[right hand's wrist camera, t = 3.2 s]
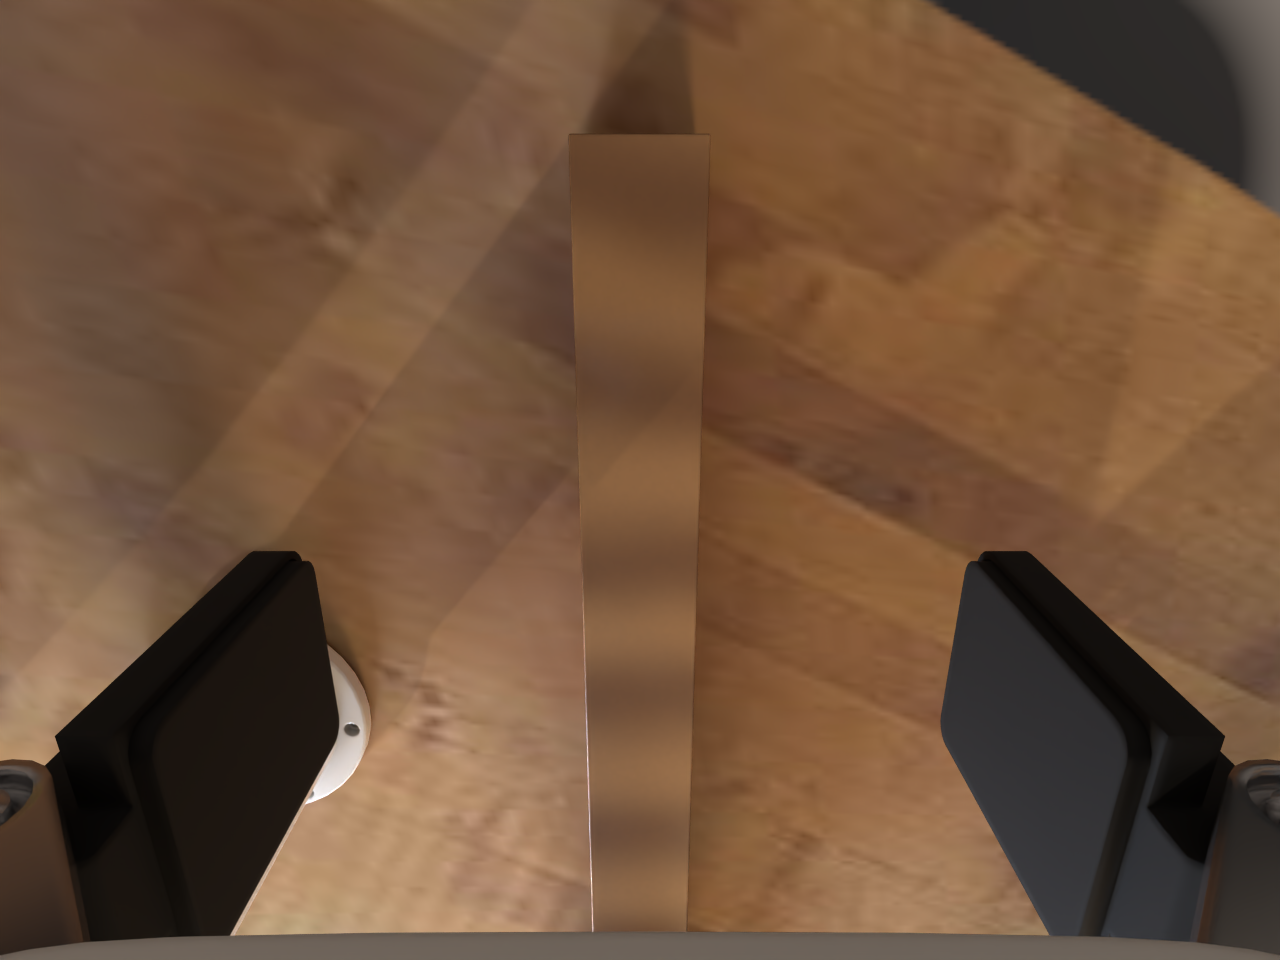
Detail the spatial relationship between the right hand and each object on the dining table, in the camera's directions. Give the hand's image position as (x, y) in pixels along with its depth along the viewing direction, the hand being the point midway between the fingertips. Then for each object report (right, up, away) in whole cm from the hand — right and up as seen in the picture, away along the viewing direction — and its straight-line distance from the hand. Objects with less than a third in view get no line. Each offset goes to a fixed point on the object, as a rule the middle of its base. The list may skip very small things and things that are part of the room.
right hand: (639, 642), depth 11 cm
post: (0, -13, +34) cm, 36 cm away
